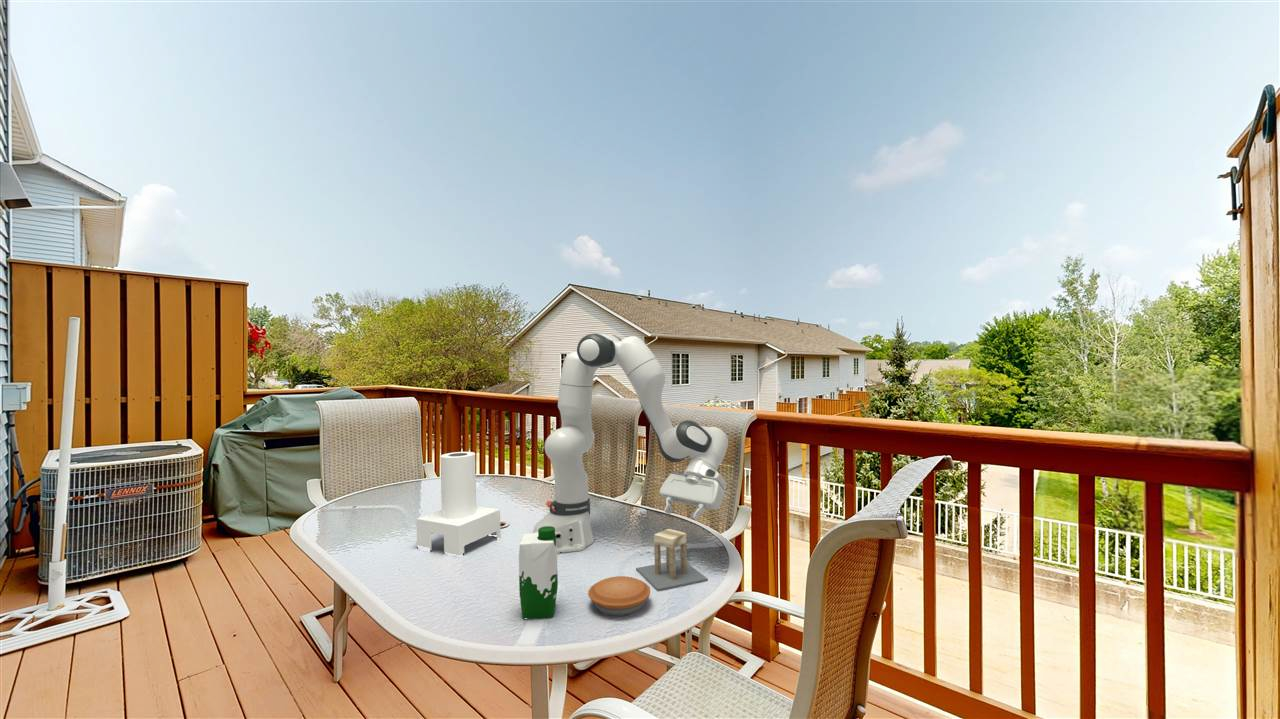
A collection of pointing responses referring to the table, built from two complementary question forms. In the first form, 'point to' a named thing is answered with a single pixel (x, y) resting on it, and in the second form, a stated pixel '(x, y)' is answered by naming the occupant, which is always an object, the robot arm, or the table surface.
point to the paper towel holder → (458, 508)
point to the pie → (619, 595)
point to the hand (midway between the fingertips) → (680, 515)
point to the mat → (664, 580)
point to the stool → (670, 551)
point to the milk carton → (538, 573)
